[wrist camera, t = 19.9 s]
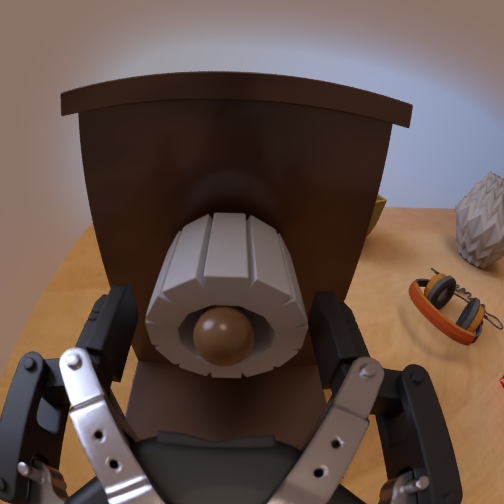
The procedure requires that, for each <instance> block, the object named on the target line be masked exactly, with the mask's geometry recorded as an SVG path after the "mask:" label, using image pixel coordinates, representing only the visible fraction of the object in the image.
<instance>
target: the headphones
mask: <svg viewBox="0 0 504 504" xmlns="http://www.w3.org/2000/svg"><path fill="white" fill-rule="evenodd" d="M431 270H433V271H434V272H435V274H437V275H436V276H434V277H433V278H432V279H431V280H429V279H416V280H415V282H414V281H413V283H412V284H411V285H410V288H409V295H410V297H411V300H412V301H413V303H414V304H415V306H416V307H417V308H418V309H419V311H420V312H421V313H422V314H423V315H424V316H425V317H426V318H427V319H428V320H429V321H430V322H431V323H432V324H433V325H434V326H435V327H437V328H438V329H439V330H440V331H441V332H443V333H444V334H445V335H447V336H448V337H450V338H451V339H453V340H455V341H457V342H459V343H461V344H464V345H469V344H470V343H474V342H475V341H476V340H477V338H478V337H479V336H480V334H481V331H482V325H483V321H482V320H483V317H484V318H485V319H487V320H488V321H489V322H490V323H491V324H493V325H494V326H495V327H497V328H498V329H501V330H502V329H503V326H502V323H501V322H500V321H499V319H498V318H496V317H495V316H493V315H490V314H488V313H487V312H486V311H485V310H484V307H485V305H484V304H481V305H480V300H479V299H477V298H469V297H470V296H471V293H470V292H464V291H465V290H466V289H465V288H462V289H464V290H463V291H462V292H463V293H465V294H467V293H469V294H470V295H469V296H468V297H467V298H468V299H469V300H471V299H472V300H471V301H470V302H469V301H467V300H466V299H464V298H463V297H461V296H459V295H458V294H456V293H454V292H455V290H456V291H461V290H462V289H460V290H457V288H459V285H456V281H455V279H454V278H453V277H451V276H446V275H444V274H440V273H438V272H437V271H435V270H434V269H433V268H431ZM456 286H458V287H456ZM419 287H426V288H425V290H424V295H423V293H422V292H421V290H420V288H419ZM453 294H454V295H456V296H458V297H460V298H461V299H463V300H465V301H466V302H467V303H468V305H467V306H466V307H465V309H464V310H463V312H462V314H461V315H460V317H459V319H458V321H457V323H456V324H455V323H453V322H452V321H450V320H449V319H448V318H447V317H445V316H444V315H443V314H442V313H441V312H440V311H439V310H438V309H441V308H442V307H443V306H445V305H446V304H447V303H448V302H449V300H450V299H451V298H452V296H453ZM482 305H483V306H484V307H482ZM485 313H486V314H487V315H489V316H492V317H494V318H496V319H497V320H498V322H499V323H500V324H501V326H502V328H499V327H498V326H496V325H495V324H494V323H493V322H491V321H490V320H489V319H488V318H487V316H486V315H484V314H485ZM475 331H476V335H474V332H475Z"/></svg>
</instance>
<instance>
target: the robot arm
mask: <svg viewBox="0 0 504 504" xmlns="http://www.w3.org/2000/svg"><path fill="white" fill-rule="evenodd" d="M137 323H138V308H137V305H136V301H135V298H134V294H133V290H132V287H131V285H126V284H113V286H112V287H111V290H110V292H109V294H108V295H104V294H103V295H102V296H101V297H100V298H99V299H98V300H97V301H96V302H95V304H94V306H93V309H92V311H91V313H90V315H89V317H88V320H87V321H86V323H85V326H84V328H83V330H82V332H81V335H80V337H79V339H78V342H77V344H76V346H75V348H71V349H68V350H67V351H65V352H64V353H63V355H62V356H61V358H56V359H46V360H44V359H43V357H42V356H41V355H40V354H39V353H37V352H29V353H27V354H25V355H24V356H23V357H22V358H21V360H20V362H19V364H18V366H17V369H16V372H15V374H14V377H13V380H12V383H11V385H10V388H9V391H8V394H7V397H6V401H5V404H4V407H3V411H2V414H1V418H0V499H1V500H3V501H5V502H8V503H11V504H366V503H365V502H363V501H362V500H361V499H359V498H358V497H357V496H355V495H354V494H353V493H351V492H350V491H349V490H348V489H346V488H345V487H344V486H342V485H341V484H340V481H341V480H342V478H343V476H344V474H345V472H346V471H347V469H348V467H349V465H350V463H351V461H352V459H353V458H354V456H355V454H356V452H357V450H358V448H359V446H360V444H361V441H362V439H363V437H364V435H365V433H366V431H367V428H368V426H369V420H368V416H369V414H373V415H375V416H376V421H377V425H378V430H379V435H380V440H381V445H382V450H383V455H384V461H385V466H386V472H387V478H388V481H387V482H386V483H385V484H384V485H383V486H382V488H381V491H380V495H379V497H380V499H379V503H378V504H461V501H462V497H463V493H462V487H461V481H460V476H459V471H458V467H457V463H456V458H455V454H454V450H453V446H452V443H451V439H450V436H449V432H448V429H447V425H446V422H445V419H444V416H443V413H442V410H441V407H440V404H439V401H438V398H437V395H436V392H435V390H434V387H433V384H432V382H431V379H430V376H429V374H428V372H427V371H426V370H425V369H424V368H423V367H421V366H419V365H416V364H411V365H408V366H407V367H405V369H404V370H403V371H397V370H390V369H385V368H383V367H382V366H381V364H380V363H379V362H378V361H376V360H375V359H373V358H371V357H370V355H369V353H368V350H367V348H366V345H365V342H364V340H363V337H362V335H361V332H360V330H359V329H358V325H357V322H356V321H355V317H354V315H353V313H352V310H351V309H350V308H349V307H348V306H347V305H346V304H345V303H344V302H338V300H337V298H336V295H335V293H334V291H316V292H315V294H314V298H313V301H312V305H311V308H310V312H309V315H308V329H309V333H310V337H311V341H312V345H313V349H314V354H315V358H316V362H317V366H318V371H319V375H320V379H321V384H322V388H323V389H331V390H332V394H333V395H332V396H331V398H330V399H329V401H328V403H327V405H326V407H325V408H324V410H323V412H322V413H321V415H320V417H319V418H318V420H317V422H316V423H315V425H314V427H313V428H312V430H311V431H310V433H309V434H308V435H307V437H306V438H305V440H304V441H303V443H302V444H301V446H300V447H299V449H298V448H296V447H294V446H292V445H290V444H288V443H285V442H281V441H276V440H275V435H251V436H242V437H237V438H233V439H228V440H224V441H218V442H214V441H210V440H206V439H203V438H199V437H196V436H193V435H190V434H187V433H178V432H169V431H162V430H158V434H157V436H153V437H149V438H145V439H143V440H139V438H138V436H137V435H136V433H135V432H134V430H133V429H132V428H131V426H130V425H129V423H128V421H127V420H126V418H125V416H124V414H123V412H122V410H121V408H120V406H119V404H118V402H117V400H116V398H115V396H114V394H113V392H112V390H111V388H110V387H111V383H112V381H115V382H121V378H122V375H123V371H124V367H125V363H126V360H127V356H128V353H129V349H130V346H131V342H132V339H133V336H134V333H135V329H136V326H137ZM41 397H42V398H41ZM40 400H41V401H40ZM39 404H40V405H39ZM70 405H71V407H72V409H70V410H69V408H70ZM37 411H38V412H37ZM68 412H69V414H70V418H71V420H72V423H73V426H74V428H75V431H76V433H77V436H78V438H79V440H80V443H81V445H82V447H83V449H84V452H85V454H86V456H87V458H88V460H89V462H90V464H91V466H92V468H93V470H94V472H95V474H96V476H95V477H94V478H93V479H92V480H90V481H89V482H88V483H87V484H85V485H84V486H83V487H82V488H80V489H79V490H78V491H77V492H75V493H74V494H73V495H71V496H70V497H69V496H68V495H67V493H66V489H67V485H66V483H65V481H64V478H63V476H62V474H61V473H60V472H59V464H60V456H61V450H62V443H63V438H64V432H65V427H66V422H67V417H68Z"/></svg>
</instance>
